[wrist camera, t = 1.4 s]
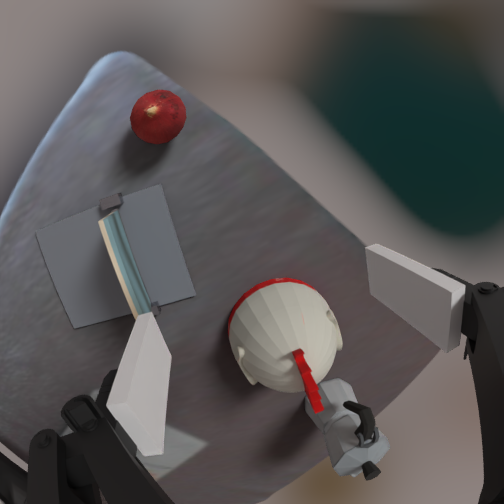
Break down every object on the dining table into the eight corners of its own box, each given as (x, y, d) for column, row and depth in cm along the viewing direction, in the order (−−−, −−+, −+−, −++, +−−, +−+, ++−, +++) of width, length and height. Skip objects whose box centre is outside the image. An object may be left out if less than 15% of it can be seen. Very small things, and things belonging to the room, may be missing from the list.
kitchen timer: (247, 379, 42) (267, 456, 28) (212, 301, 38) (220, 372, 24) (334, 344, 43) (383, 407, 29) (313, 262, 39) (372, 310, 25)
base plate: (75, 326, 36) (74, 328, 35) (37, 230, 32) (35, 231, 31) (196, 293, 37) (196, 295, 37) (161, 183, 33) (160, 183, 33)
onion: (157, 90, 30) (146, 69, 23) (197, 114, 32) (196, 98, 24) (129, 131, 31) (109, 120, 24) (168, 156, 33) (158, 150, 25)
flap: (150, 299, 36) (144, 302, 36) (118, 207, 33) (111, 210, 32) (159, 348, 24) (149, 351, 24) (107, 215, 21) (96, 219, 21)
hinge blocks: (144, 313, 36) (142, 318, 35) (102, 199, 32) (99, 200, 31) (161, 309, 36) (160, 313, 35) (120, 192, 32) (117, 193, 31)
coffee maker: (347, 415, 48) (391, 485, 31) (302, 427, 47) (336, 506, 30) (355, 351, 44) (417, 425, 27) (302, 364, 43) (351, 452, 26)
